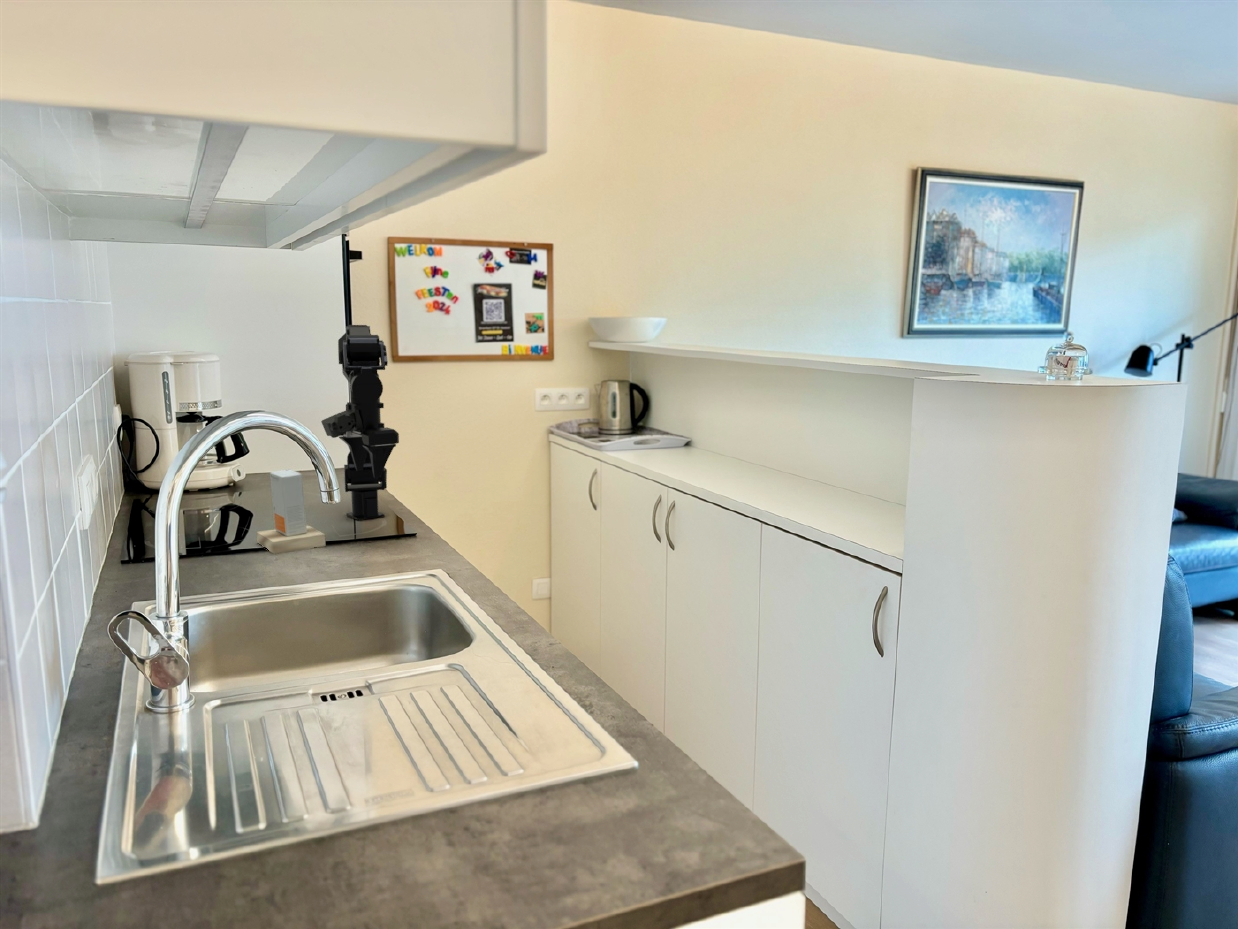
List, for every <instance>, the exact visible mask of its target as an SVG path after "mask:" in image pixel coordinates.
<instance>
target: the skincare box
mask: <svg viewBox="0 0 1238 929" xmlns="http://www.w3.org/2000/svg"><path fill="white" fill-rule="evenodd" d="M269 477H270V488H271V490H270V491H271V500H272V510H273V512H272V513H273V522H274V523H273V524H274V529H275V530H276V531H278V532H280V533H282V534H284V535H285V536H287V537H288V536H293V535H298V534H303V533H306V532H307V528H306V525H307V520H306V519H307V518H306V517H307V516H306V508H305V506H306V505H305V497H304V486H303V485H304V484H303V474H302V473H300V472H298V471H295V470H291V469H289V468H288V469H283V470H274V471H270V472H269Z"/></svg>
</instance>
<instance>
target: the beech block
mask: <svg viewBox="0 0 1238 929" xmlns="http://www.w3.org/2000/svg"><path fill="white" fill-rule="evenodd" d="M306 528H307V532H306V533H303V534H298V535H293V536H288V537H287V536H285V535H284V534H282V533H280V532H278V531H276V530H275V528H274V529H268V530H267V529H266V530H261V531H260V530H259V531H256V532H255V533H256V543H257V542H258V543H260V544H261V545H263V546H264V547H266V548H267V549H268V550H269V551H268V550H267V549H266V550H267V551H268V552H269V553H271V554H273V555H276V554H277V555H279V554H284V553H290V552H297V551H303V550H309V549H310V550H311V549H315V548H314V547H317V548H322V547H326V534H325V533H323V532H321V531H319V529H318V530H317V529H316V528H314V527H312V526H310V525H308V524H306Z"/></svg>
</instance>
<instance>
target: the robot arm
mask: <svg viewBox="0 0 1238 929" xmlns="http://www.w3.org/2000/svg"><path fill="white" fill-rule="evenodd" d="M345 328H346V329H345V333H344V334H343V335H342V336H341V337H340V338H339V339H338V341H337V343H338V344H337V350H338V351H337V352H338V354H337V356H338V358H337V359H338V365H341V370H342V375H343V376H344V377H345V379H346V380H347V382H348V383H349V396H350V401H349V402H347V403H346V404H345V410H343V411H340V412H338V413H335V414H333V415H331V416H329V417H326V418H324V419H322V420H321V422H320V423H321V425H322V426H323V429H324V432H325V434H326V436H327V437H331V438H332V439H333V438H334V439H336V438H339V439H340V440H341V441H343V442H344V443H345V445H347V446H348V449H349V452H348V454H347V458H346V464H344V465H343V469H344V470H343V472H344V475H343V478H344V479H343V480H344V490H345V493H348V492H351V493H350V494H351V512H346V513H345V515H346V516H347V517H349V518H352V519H355V520H357V521H362V520H368V519H374V518H382V517H385V513H383V512H380V511H379V496H378V495H379V492H378V491H385V489H387V487H388V486H387V484H388V483H387V479H388V478H387V476H388V473H387V472H388V470H387V468H386V467H385V466H386V464H387V462H388V460H389V458H390V455H391V454H392V452H393V450H394V448H395V447H396V446H397V445H398V444H399V443H400V434H399V432H397V430H396V429H394V428H390V427H385V422H381V409H385V408H384V404H385V403H384V402H381V400H380V399H381V396H382V394H383V392H384V391H383V390H384V385H383V383H382V380H381V379H380V374H379V373H378V371H385V370H386V366H388V363H389V362H388V354H387V352H388V351H387V346H386V345H385V342H384V341H383V339H382V340H380V336H379V335H378V334H371V325H366V324H349V325H346V327H345Z"/></svg>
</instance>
